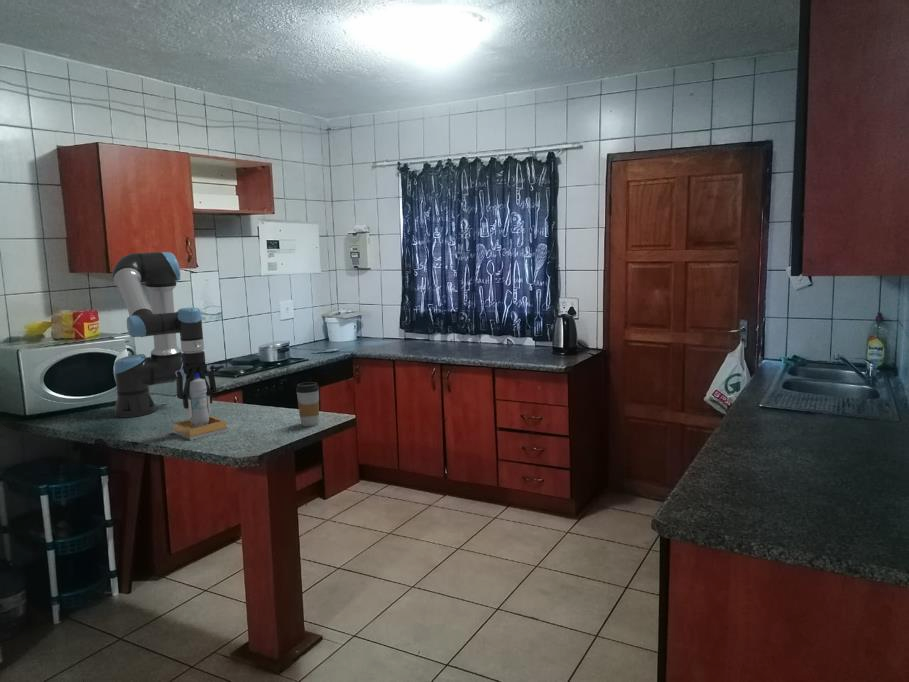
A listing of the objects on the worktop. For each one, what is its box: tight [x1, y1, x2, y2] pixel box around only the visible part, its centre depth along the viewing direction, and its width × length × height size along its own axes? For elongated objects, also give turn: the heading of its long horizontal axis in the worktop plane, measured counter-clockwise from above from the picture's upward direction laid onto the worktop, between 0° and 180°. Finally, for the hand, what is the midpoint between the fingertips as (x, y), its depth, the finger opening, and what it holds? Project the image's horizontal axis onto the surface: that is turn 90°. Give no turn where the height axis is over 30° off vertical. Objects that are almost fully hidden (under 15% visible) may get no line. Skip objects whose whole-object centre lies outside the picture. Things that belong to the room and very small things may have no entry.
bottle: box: [188, 372, 210, 427], centre depth 235 cm, size 7×7×20 cm
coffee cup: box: [295, 381, 320, 427], centre depth 241 cm, size 8×8×15 cm
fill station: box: [172, 414, 230, 441], centre depth 237 cm, size 15×14×4 cm
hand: (199, 414), depth 236 cm, fingers open, 6 cm apart
